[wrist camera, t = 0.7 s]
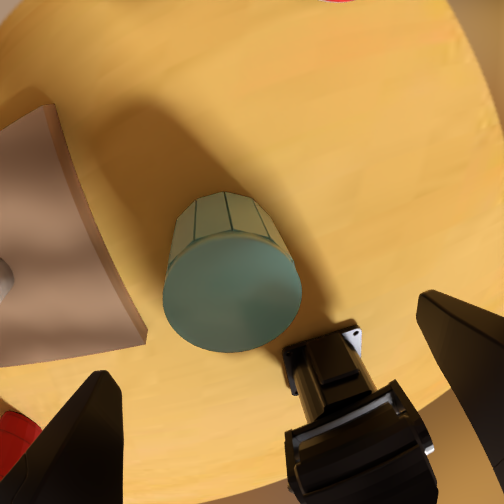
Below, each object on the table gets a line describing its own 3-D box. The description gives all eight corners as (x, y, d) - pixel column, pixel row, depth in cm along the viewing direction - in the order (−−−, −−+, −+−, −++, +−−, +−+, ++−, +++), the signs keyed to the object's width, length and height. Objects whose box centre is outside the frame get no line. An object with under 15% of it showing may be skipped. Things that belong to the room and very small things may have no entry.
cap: (281, 270, 20) (308, 333, 15) (191, 294, 20) (190, 363, 15) (262, 181, 17) (290, 222, 12) (159, 210, 17) (140, 263, 12)
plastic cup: (40, 405, 24) (16, 500, 14) (73, 450, 29) (62, 528, 18) (-27, 388, 22) (-56, 465, 12) (10, 435, 27) (-7, 503, 17)
